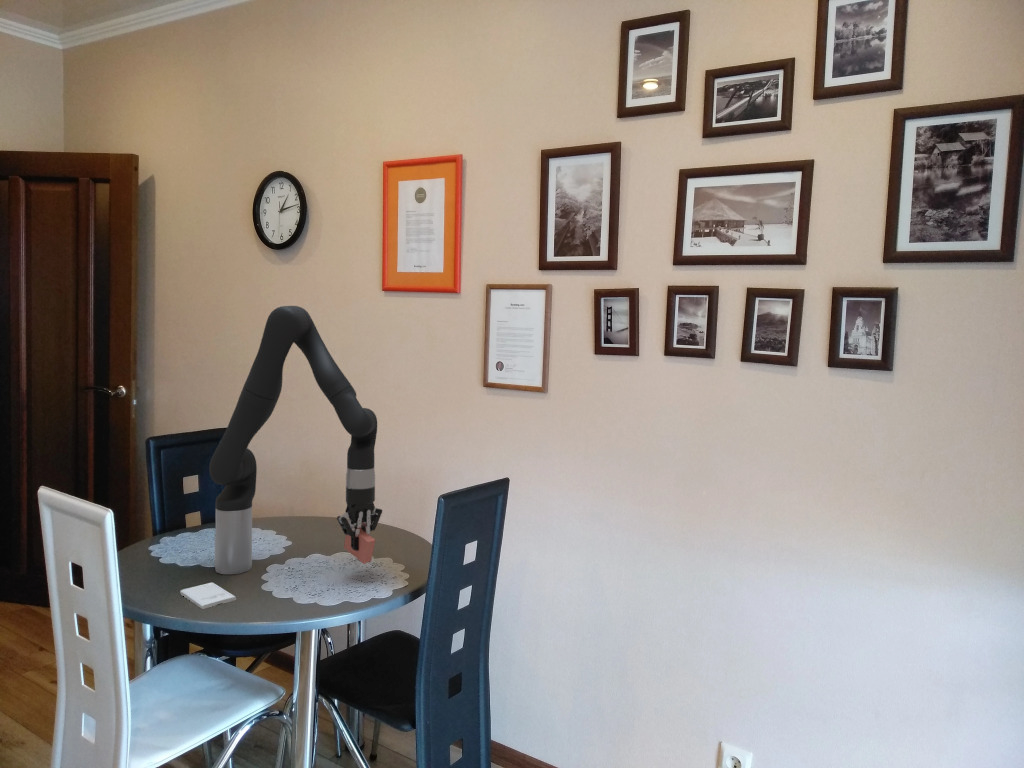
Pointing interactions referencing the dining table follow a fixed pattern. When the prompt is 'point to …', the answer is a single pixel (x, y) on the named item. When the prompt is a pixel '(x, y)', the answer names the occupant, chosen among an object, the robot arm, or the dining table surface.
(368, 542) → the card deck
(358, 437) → the robot arm
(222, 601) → the external hard drive
